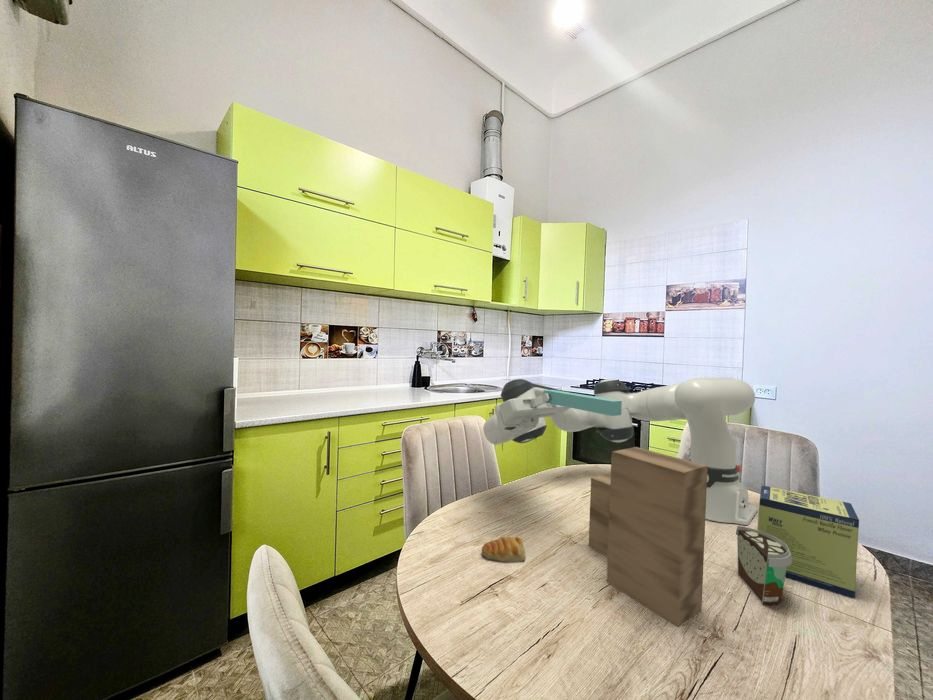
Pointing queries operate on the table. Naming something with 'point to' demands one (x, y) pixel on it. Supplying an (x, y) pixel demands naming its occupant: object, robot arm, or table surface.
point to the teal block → (585, 402)
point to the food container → (762, 564)
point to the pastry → (505, 549)
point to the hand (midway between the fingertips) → (555, 395)
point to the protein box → (813, 537)
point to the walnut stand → (652, 529)
